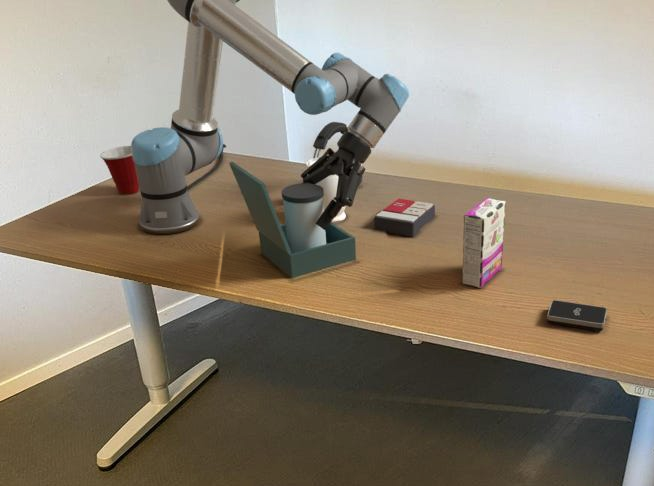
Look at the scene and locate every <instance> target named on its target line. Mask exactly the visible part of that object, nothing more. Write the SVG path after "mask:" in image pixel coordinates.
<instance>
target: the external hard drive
mask: <svg viewBox="0 0 654 486" xmlns="http://www.w3.org/2000/svg"><path fill="white" fill-rule="evenodd" d="M607 312H608V308H607V307H605V306H599V305H592V304H584V303H578V302H573V301H572V302H571V301H566V300H565V301H564V300H558V299H553V300H551V303H550V306H549V309H548V311H547V316H546V322H547V323H548V324H552V325H559V326H564V327H570V328H578V329H584V330H591V331H597V332H601V331H603V330H604V326H605V323H606V320H607Z"/></svg>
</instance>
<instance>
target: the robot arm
mask: <svg viewBox="0 0 654 486" xmlns="http://www.w3.org/2000/svg"><path fill="white" fill-rule="evenodd" d="M166 1H167V2H168V4H169V5H170V7H171V8H172V9H173V10H174V11H175V12H176V13H177V14H178V15H179V16H180V17H182V18H183V19H184V20H186V21H187V28H186V29H187V30H186V39H185V47H184V58H183V67H182V76H181V86H180V94H179V95H180V96H179V97H180V98H179V105H178V109H177V110H176V109H175V111H173V112H172V115H171V121H170V122H171V123H170V127H154V128H151V129H146V130H143V131H141V132H139V133H138V134H136V135H135V136H134V137H133V138H132V140H131V144H130V146H131V148H132V158H133V161H134V165H135V170H136V174H137V179H138V183H139V191H140V195H141V201H140V211H139V217H138V222H139V226H140V229H141V230H142V231H143V232H145V233H148V234H151V235H152V234H153V235H171V234H172V235H173V234H177V233H182V232H185V231H188V230H191V229H193V228H195V227H196V226H197V225H198V224H199V223H200V222H201V221H200V220H201V219H200V213H199V211H198V208H197V206H196V204H195V203H194V201H193V199H192V197H191V195H190V193H189V189H191V188H193V187H194V186H195V185H197V184H198V183H200V182H201V181H203V180H205V179H206V178H208V177H209V176H210V175H211V174H213V173H214V172H215V171H216V170H217V169H218V168H219V167H220V166H221V164H222V161H223V160H224V159H223V158H224V155H223V154H224V149H225V148H227V145H226V144H225V143H224V138H223V134H222V133H221V130H220V127H219V123H218V120H217V119H216V118H215V116H214V111H215V106H216V105H215V104H216V98H217V90H218V82H219V75H220V69H221V62H222V61H221V60H222V53H223V47H224V43H225V44H226V45H228V46H229V47H230V48H232V49H233V50H234V51H236V53H238V54H240V55H241V56H243V58H245V59H246V60H247V61H249V62H251V63H252V64H253V65H255V66H256V67H257V68H258V69H260V70H262V72H264V73H265V74H267V75H268V76H269V77H270V78H272V79H273V80H275V81H276V82H278V83H279V84H280V85H282V86H283V87H284V88H286V89H287V90H288V91H290V92H291V93H292V94H294V99H295V102H296V104H297V106H298V108H299V109H300V110H301V111H302V112H304V113H305V114H307V115H310V116H317V115H320V114H323V113H326V112H329V111H330V110H332V109H333V108H334V107H336V106H337V105H340V104H342V103H344V102H346V101H348V102H350V103H351V104H353V106H356V107H357V108H359V111H358V112H357V113H356V114H355V116H353V119H352V120H351V122H350V123H349V124H348V126H347V129H348V132H347V131H346V132H344V133H343V134H341V136H340V138H339V139H338V141H337V142H336V146H337V147H338V149H337V150H336V151H334V150H333V148H332V147H328V148H327V149H326V150H325V152H324V153H323V154H322V156H319V157H320V158H319V159H318V160H317V161H316V162H315V163H313V164H312V165H311V166H310V167H309V168H306V169H305V170H304V171H303V172H302V173H301V174H300V177H301V179H302V183H308V184H317V183H318V182H320V181H322V180H323V179H325V178H327V177H328V176H330V175H337V176H338V177H339V178H338V185H337V192H336V197H334V198H333V199H334V200H335V201H334V200H333V199H332V200H331V202H330V203H329V205H328V206H327V208H326V209H325V210H324V212H323V213H322V215H321V216H320V218H319V219H318V221H317V222H316V224H317V225H318V226H320V227H321V228H322V229H324V230H326V229H327V227H328V226H329V224H330V223H331V222H332V223H333V221H332V220H333V219H334V218H335V217H336V216H337V214H338V213H339V211H340V210H341V208H342V207H344V206H346V207H349V208H351V207H352V206H353V203H354V201H355V197H356V194H357V191H358V188H359V186H360V185H359V182H360V179H361V177H362V178H363V175H364V173H365V172H366V168H365V167H364V165H362V164H364V163H366V161H367V160H368V158H369V157H370V155H371V154H372V149H375V147H376V146H377V145H378V143H379V142H380V140H381V139H382V137H383V136H384V135H385V133H386V132H387V131H388V129H389V127H390V126H391V125H392V123H393V122H394V120H395V119H396V118H397V116H398V115H399V114H400V113H401V111H402V109H403V107H404V106H405V104H406V102H407V100H408V99H409V97H410V91H409V89H408V87H407V86H406V85H405V84H404V82H402V81H401V80H400V79H399V78H397V77H396V76H393V75H392V74H391V73H385V74H383V75H382V76H381V77H380V78H378V77H376V76H374V75H373V74H371V73H370V72H368V71H367V70H366V69H365V68H363V67H362V66H360V65H359V64H357V63H356V62H355V61H353V60H352V58H350V57H347V56H345V55H344V54H342V53H340V52H334V53H331V55H330V56H329V57H327V59H326V60H325V61H324V62H323V65H322V67H321V68H320V67H319V66H318V65H316V64H314V63H313V62H312V61H311V60H309V59H308V58H306V57H305V56H304V55H302V54H301V53H300V52H299V51H297V50H296V49H295V48H293V47H292V46H290V45H289V44H288V43H286V42H285V41H284V40H283V39H281V38H280V37H278V36H277V35H276V34H274V33H273V32H272V31H271V30H269V29H267V28H266V27H265V26H264V25H262V24H261V23H260V22H258V21H257V20H255V19H254V18H253V17H252V16H250V15H249V14H248V13H246V12H245V11H244V10H242V9H241V8H240V7H238V5H236V4H237V3H238V2H240V1H241V0H166ZM218 158H219V160H218V162H217V163H216V164H215V165H214V166H213V168H211V169H210V170H209V171H208V172H206V173H205V174H204V175H202V176H201V177H199V178H197V179H196V180H194V181H193V182H192V183H190V184H189V185H188V184H187V179H186V177H187V176H189V175H190V174H192V173H194V172H196V171H198V170H200V169H203V168H204V167H207V166H209V165H211V164H212V163H214V161H216V160H217V159H218ZM360 163H361V164H360ZM358 185H359V186H358Z"/></svg>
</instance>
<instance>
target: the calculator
mask: <svg viewBox="0 0 654 486" xmlns="http://www.w3.org/2000/svg"><path fill="white" fill-rule="evenodd" d="M435 215H436V205H435V204H433V202H432V203H430V202H425V201H418V200H417V201H415V200H411V199H405V198H397V199H396V200H394V201H393V202H392V203H390V204H389V205H387V206H386V207H385V208H383V210H382V211H380V212H378V213H377V214H376V215H374V217H373V227H374V229H377V230H382V231H385V233H390V234H395V235H402V236H407V237H414V236H416V235H417V234H418V233H419V232H420V230H421V228H423V227H424V226H425V225H426V224H428V222H430V221H431V220H432V219H434V217H435Z"/></svg>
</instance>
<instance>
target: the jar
mask: <svg viewBox="0 0 654 486" xmlns="http://www.w3.org/2000/svg"><path fill="white" fill-rule="evenodd" d="M320 157H321V156H319V158H320ZM319 158H317V157H315V158H314V159H313V158H311V159H310V160H308V161H307V162H306V169H308V168H309V167H310V166H311V165H312V164H313V163H315V162H316V161H317V160H318V159H319ZM338 178H339V177H338V176H337V175H330V176H328V177H327V178H325V179H323V180H322V181H320V182H318V183H317V184H316V185H319V186H321V187H322V188H323V190H324V196H323V203H324V210H325V209H326V208H327V206H328V205H329V203H330V202H331V200H332V199H333V198H334V197H336V192H337V185H338ZM333 200H334V199H333ZM334 201H335V200H334ZM346 207H347V206H344V207H342V208H341V210H340V211H339V213H338V214H337V216H336V217H335V218H334V219H333V220H332V222H340V221H344V220H345V219H346V217H347V215H346V214H347V213H345V210H346Z"/></svg>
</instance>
